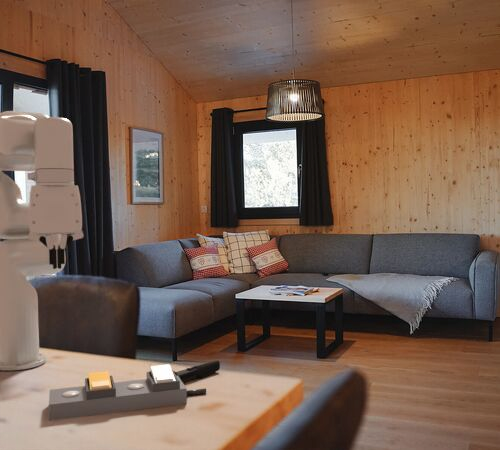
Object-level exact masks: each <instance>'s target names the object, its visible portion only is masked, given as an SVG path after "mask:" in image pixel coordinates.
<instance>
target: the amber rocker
mask: <svg viewBox="0 0 500 450" xmlns="http://www.w3.org/2000/svg"><path fill="white" fill-rule="evenodd" d="M110 376H111V374H110V371H109V370H104V371H103V370H102V371H95V372H88V378H89V386H90V390H99V389H108V388H112V386H111V380H110Z"/></svg>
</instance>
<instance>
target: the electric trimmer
mask: <svg viewBox="0 0 500 450" xmlns="http://www.w3.org/2000/svg"><path fill="white" fill-rule="evenodd" d="M220 368H221V363H220V360H214V361H210V362H206V363H202V364H199V365H195V366H194V365H193V366H192V367H186V368H185V369H182V370H179V371H175V370H173V372H174V373H175V375H176V376H178V377H179V378H180V379H181V381H182V382H183V383H185V382H188V381H191V380H195V379H203V378H205V377H207V376H210V375H211V374H214V373H216V372H217V371H219V370H220Z"/></svg>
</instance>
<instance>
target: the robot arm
mask: <svg viewBox="0 0 500 450" xmlns="http://www.w3.org/2000/svg"><path fill="white" fill-rule="evenodd" d="M73 131H74V130H73V124H72V122H71V120H69V119H67V118H65V117H58V116H48V115H47V114H45V113H43V112H42V113H39V112H30V111H29V112H28V111H16V110H6V111H3V112H0V239H1V240H2V241H0V371H3V372H4V371H8V372H10V371H11V372H12V371H20V370H21V371H22V370H27V369H31V368H36V367H39V366H42V365H43V364H45V363H46V361H47V357H46V355H44V354H43V353H40V337H39V336H40V333H39V331H40V330H39V329H40V328H39V297H38V292H37V290H36V288H35V287H34V286H33V285H32V284H31V283H30V281H29V280H28V279H27V278H28V277H34V276H47V275H54V274H58V273H60V272H61V271H63V269H64V268H65V266H66V260H67V259H66V250H65V249H66V248H67V246H69V245H70V243H72V241H77V240H79V239H80V240H81V239H83V238H84V235H85V234H84V231H83V214H82V213H83V212H82V202H81V201H82V200H81V194H80V189H79V185H75V172H74V171H75V170H74V168H75V167H74V166H75V165H74V132H73ZM3 171H4V172H5V171H7V172H8V171H10V172H27V180H28V181H29V180H31V181H33V182H34V183H35V184H33V185H31V187H30V192H29V202H25V201H24V200H23V195H22V191H21V188H20V187H19V185H18V184H17V183H16V182H15V181H14V179H12V178H11V177H10V176H9V175H8V174H5V173H4V172H3ZM29 172H31V173H29Z"/></svg>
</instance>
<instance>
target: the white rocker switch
mask: <svg viewBox="0 0 500 450" xmlns="http://www.w3.org/2000/svg"><path fill="white" fill-rule="evenodd" d="M171 369H172V367H171V364H170V363H169V364H160V365H151V366H150V370H149V372H150V371H151V374H152V377H153V381H154V383H161V382H170V381H176V380H175V377H174V375H173V372H172V370H173V369H172V370H171Z"/></svg>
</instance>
